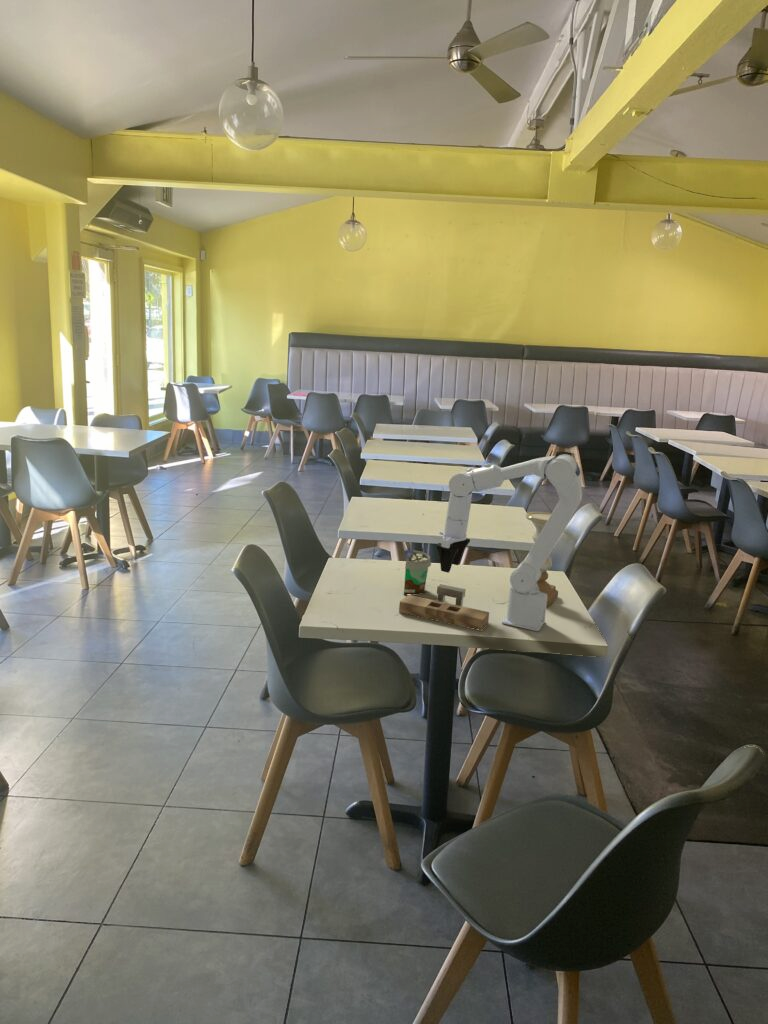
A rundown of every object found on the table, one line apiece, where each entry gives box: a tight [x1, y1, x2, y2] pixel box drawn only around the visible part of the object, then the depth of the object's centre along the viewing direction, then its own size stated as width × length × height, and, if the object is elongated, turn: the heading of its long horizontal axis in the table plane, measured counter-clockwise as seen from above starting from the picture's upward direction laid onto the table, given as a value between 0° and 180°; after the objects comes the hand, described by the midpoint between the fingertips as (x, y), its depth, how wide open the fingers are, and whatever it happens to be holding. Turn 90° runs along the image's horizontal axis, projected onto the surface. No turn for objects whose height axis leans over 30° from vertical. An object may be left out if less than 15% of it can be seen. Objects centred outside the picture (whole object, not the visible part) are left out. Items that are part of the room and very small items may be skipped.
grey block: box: [436, 583, 466, 606], centre depth 192 cm, size 7×2×6 cm, turn 66°
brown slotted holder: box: [398, 595, 490, 631], centre depth 184 cm, size 22×6×3 cm, turn 66°
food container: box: [403, 549, 432, 595], centre depth 202 cm, size 12×6×10 cm, turn 168°
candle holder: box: [525, 511, 559, 608], centre depth 202 cm, size 11×11×24 cm
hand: (449, 567), depth 190 cm, fingers open, 7 cm apart
